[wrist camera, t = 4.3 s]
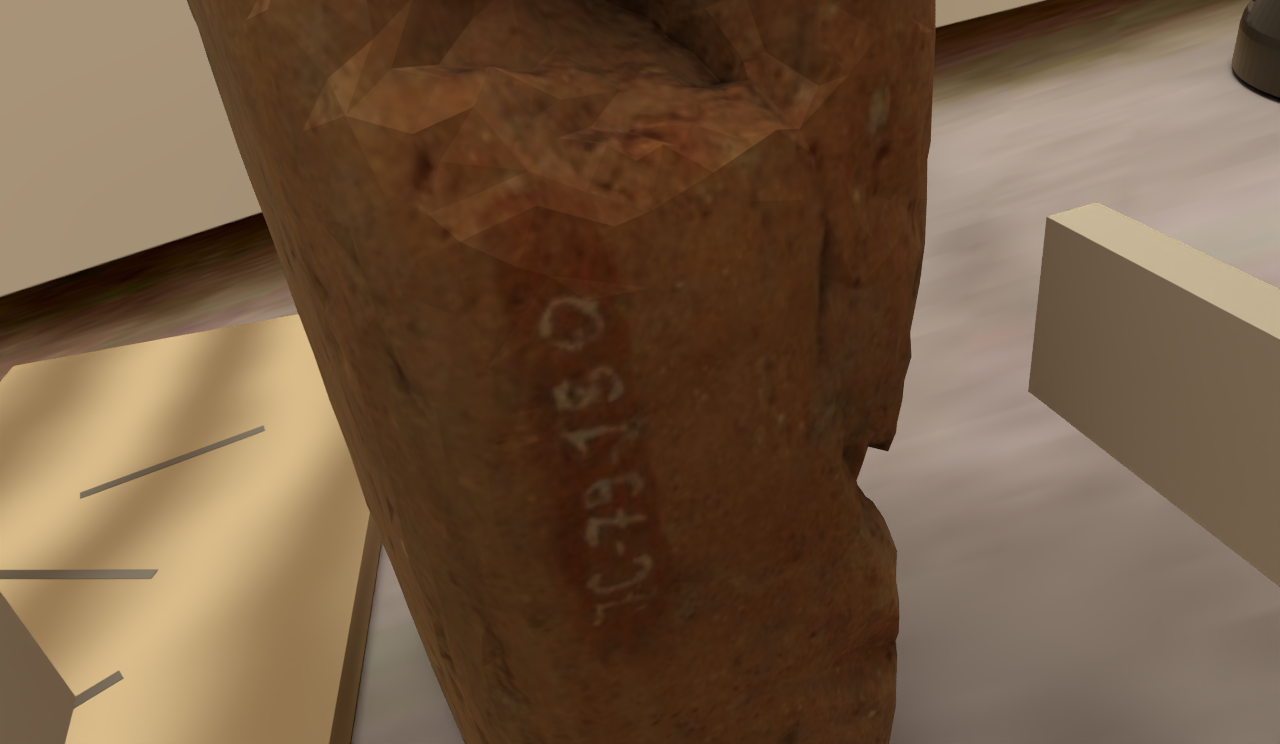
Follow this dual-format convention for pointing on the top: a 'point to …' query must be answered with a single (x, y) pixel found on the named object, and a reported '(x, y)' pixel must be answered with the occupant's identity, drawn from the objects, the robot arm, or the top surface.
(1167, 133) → the top surface
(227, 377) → the board
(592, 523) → the block
